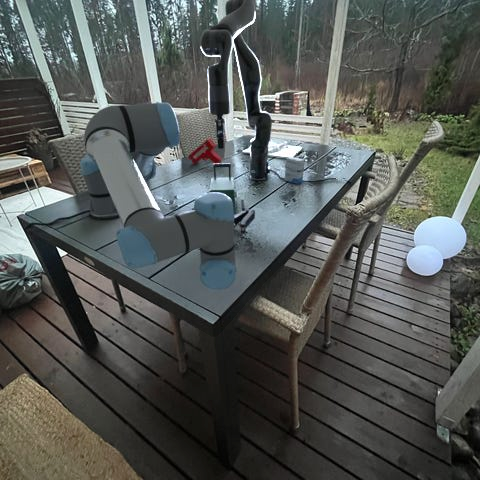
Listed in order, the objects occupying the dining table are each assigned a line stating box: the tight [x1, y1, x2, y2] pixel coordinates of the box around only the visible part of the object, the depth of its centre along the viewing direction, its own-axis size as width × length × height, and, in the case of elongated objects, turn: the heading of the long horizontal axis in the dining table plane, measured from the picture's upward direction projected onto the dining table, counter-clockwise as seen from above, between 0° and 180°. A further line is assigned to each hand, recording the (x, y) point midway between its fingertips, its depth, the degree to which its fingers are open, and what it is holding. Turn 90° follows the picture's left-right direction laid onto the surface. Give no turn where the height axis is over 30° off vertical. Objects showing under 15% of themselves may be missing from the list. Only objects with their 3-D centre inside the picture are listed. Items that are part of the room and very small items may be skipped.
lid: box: [209, 163, 235, 193], centre depth 109 cm, size 14×9×8 cm
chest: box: [223, 191, 236, 216], centre depth 114 cm, size 14×9×10 cm
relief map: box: [242, 138, 304, 160], centre depth 192 cm, size 27×35×5 cm
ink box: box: [284, 156, 306, 185], centre depth 140 cm, size 8×5×12 cm, turn 47°
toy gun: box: [188, 138, 223, 164], centre depth 168 cm, size 18×4×15 cm
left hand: (221, 203), depth 86 cm, fingers open, 13 cm apart
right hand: (221, 145), depth 107 cm, fingers open, 8 cm apart
